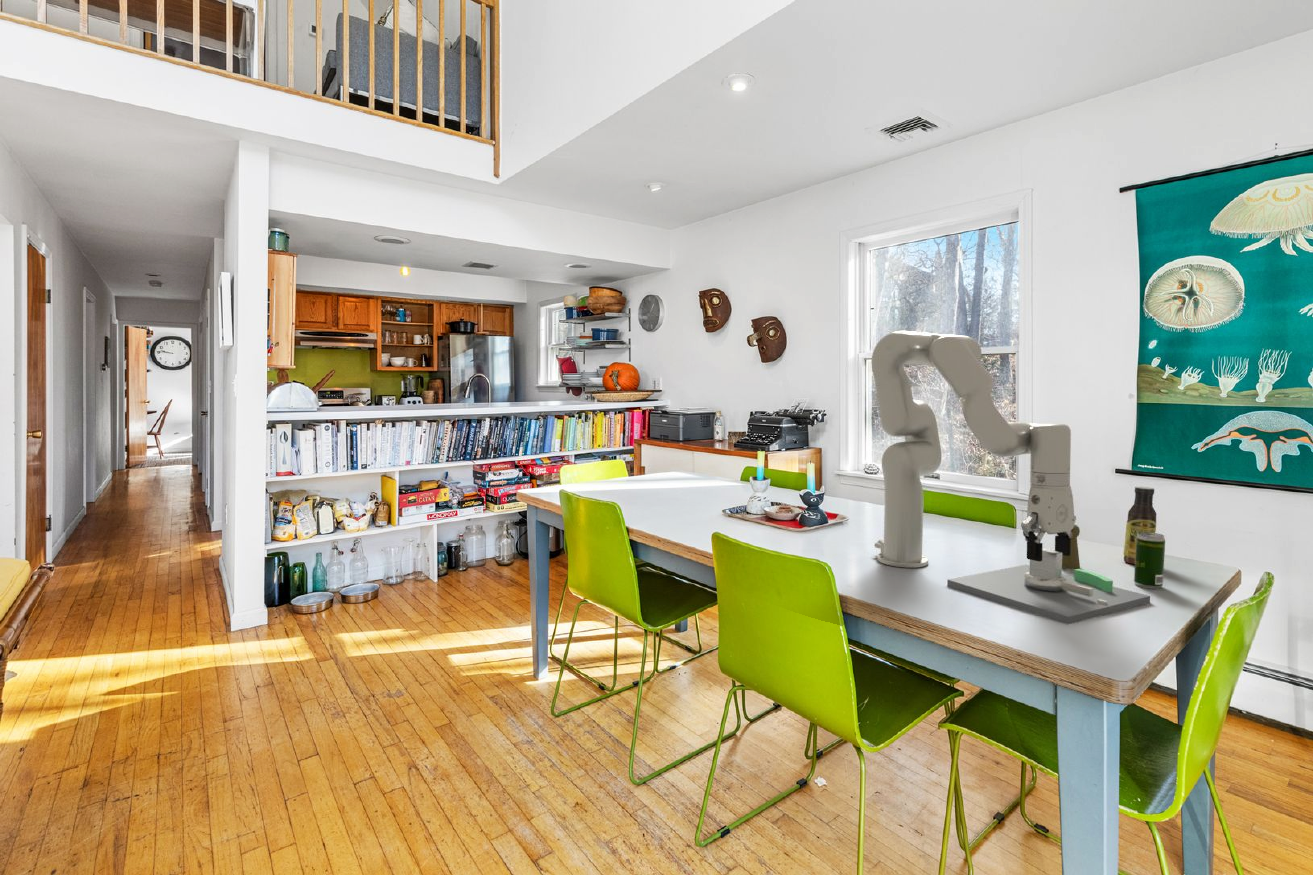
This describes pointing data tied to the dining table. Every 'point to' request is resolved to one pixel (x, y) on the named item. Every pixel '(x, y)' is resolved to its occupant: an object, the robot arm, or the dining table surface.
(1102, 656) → the dining table surface
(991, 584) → the dial board
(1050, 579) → the knob
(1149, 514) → the sauce bottle
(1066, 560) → the cork
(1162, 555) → the beer can
